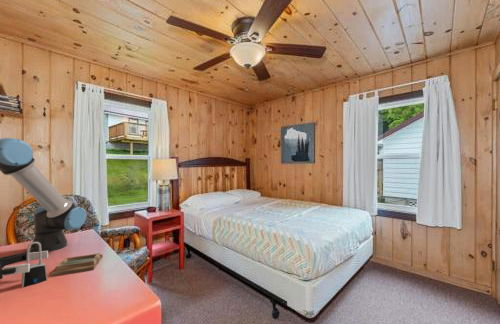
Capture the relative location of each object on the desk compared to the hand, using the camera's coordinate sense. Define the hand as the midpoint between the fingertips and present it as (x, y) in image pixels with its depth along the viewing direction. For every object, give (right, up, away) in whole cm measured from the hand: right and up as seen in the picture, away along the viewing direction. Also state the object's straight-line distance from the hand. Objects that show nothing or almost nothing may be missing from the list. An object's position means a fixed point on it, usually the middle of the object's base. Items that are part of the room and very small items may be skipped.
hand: (39, 260), depth 86 cm
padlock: (-1, -8, 0) cm, 8 cm away
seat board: (+5, -8, +13) cm, 16 cm away
